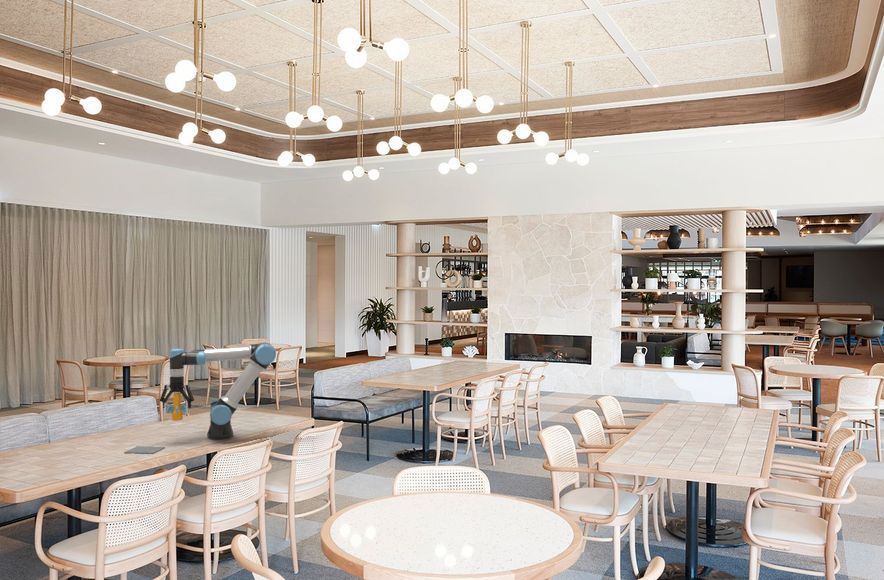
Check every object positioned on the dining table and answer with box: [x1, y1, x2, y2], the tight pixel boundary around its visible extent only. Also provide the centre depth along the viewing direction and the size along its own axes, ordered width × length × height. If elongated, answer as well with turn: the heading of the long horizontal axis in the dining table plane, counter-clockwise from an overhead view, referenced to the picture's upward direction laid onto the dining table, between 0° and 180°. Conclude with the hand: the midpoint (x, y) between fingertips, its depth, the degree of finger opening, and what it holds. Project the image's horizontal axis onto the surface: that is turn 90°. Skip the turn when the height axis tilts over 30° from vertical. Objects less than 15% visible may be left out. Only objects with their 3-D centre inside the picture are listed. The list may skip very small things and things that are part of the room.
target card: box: [124, 445, 166, 455], centre depth 385 cm, size 16×14×1 cm
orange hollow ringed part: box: [167, 392, 186, 422], centre depth 401 cm, size 12×10×15 cm
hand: (177, 413), depth 401 cm, fingers closed on orange hollow ringed part, 12 cm apart
